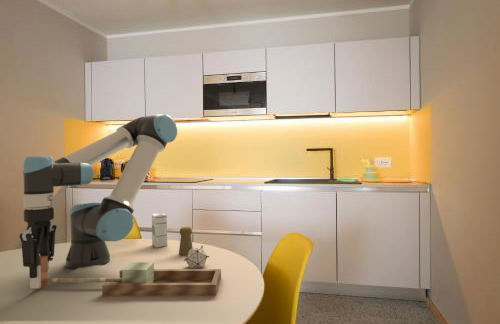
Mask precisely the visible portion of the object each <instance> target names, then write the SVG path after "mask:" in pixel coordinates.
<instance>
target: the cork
mask: <svg viewBox="0 0 500 324" xmlns="http://www.w3.org/2000/svg"><path fill="white" fill-rule="evenodd" d="M192 234H193V229H192V227H189V226H183V227H181V228H180V229H179V235H180V239H179V247H178V248H179V250H178V255H179V256H186V257H187V254H188V252H189V248H190V249H192V248H194V247H193V241H192ZM188 247H189V248H188Z"/></svg>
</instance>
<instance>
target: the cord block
mask: <svg viewBox="0 0 500 324" xmlns="http://www.w3.org/2000/svg"><path fill="white" fill-rule="evenodd" d="M39 265H41V288H30V289H31V290H42V289H44V288H45V287H47V286H48V285H49V283H117V282H122V283H153V282H154V269H155V262H153V261H149V262H147V261H146V262H145V261H144V262H143V261H142V262H141V261H139V262H138V261H136V262H135V261H133V262H132V261H131V262H130V263H129V264H127V266H126V267H124V268H122V269H123V270H122V278H120V277H62V278H61V277H49V278H48V256H40V255H39ZM48 282H49V283H48Z"/></svg>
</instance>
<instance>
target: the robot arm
mask: <svg viewBox="0 0 500 324" xmlns="http://www.w3.org/2000/svg"><path fill="white" fill-rule="evenodd" d="M177 136H178V127H177V124H176V121H175V120H174V118H173V117H171V116H170V115H168V114H164V113H162V114H161V113H159V114H158V113H157V114H155V115H148V116H147V115H146V116H145V115H144V116H140V117H138V118H135V119H133V120H131V121H129V122H127V123H125V124H123V125H122V126H119V127H118V128H116V131H115V132H112V133H111V134H108V135H106V136H104V137H102V138H101V139H98V140H96V141H94V142H92V143H89V144H88V145H85V146H84V147H81V148H79V149H77V150H75V151H73V152H71V153H69V154H67V155H64V156H62V157H61V158H59V159H56V160H54V157H52V156H39V155H38V156H26V157H24V159H23V160H24V161H23V167H22V168H23V170H22V173H23V175H22V176H23V208H24V209H23V221H24V223H27V227H26V231H25V232H23V233H20V234H19V239H20V241H21V242H20V243H21V252H22V256H21V257H22V267H24V268H25V267H26V268H29V270H28V271H29V273H28V274H29V288H30V289H31V288H41V265H39V256H48V278H50V262H51V261H53V259H54V258H53V257H54V256H55V241H56V230H57V225H56V224H52V222H51V220H52V221H53V219H55V212H54V211H55V208H54V207H53V206H54V199H55V196H54V192H55V191H54V189H55V188H57V187H73V186H85V185H89V184H91V182H93V179H94V168H93V166H94V165H96V164H98V163H100V162H101V161H104V160H105V159H107V158H109V157H111V156H112V155H114V154H117V153H119V152H120V151H122V150H124V149H131V148H133V147H134V146H135V148H134V151H133V152H132V154H131V156H130V158H129V160H128V162H127V164H126V166H125V167H124V169H123V170H122V173H121V174H120V176H119V178H118V180H117V182H116V184H115V186H114V188H113V189H112V191H111V192H110V195H108V196H105V197H103V198H102V200H101V201H95V202H86V203H78V204H73V205H72V206H71V208H70V214H69V216H70V247H69V249H68V253H67V254H66V258H65V267H66V268H67V269H72V270H76V269H77V268H81V267H82V268H83V267H84V268H86V267H92V266H103V265H106V264H108V263H109V262H110V261H111V254H110V251H109V248H108V245H107V243H106V242H119V241H122V240H123V239H125V238H126V237H128V235H129V234H130V233H131V231H132V230H133V227H134V222H135V221H134V220H133V219H134V214H133V213H134V211H135V209H134V206H133V204H134V202H135V200H136V198H137V196H138V194H139V192H140V191H141V188H142V186H143V184H144V182H145V180H146V178H147V176H148V174H149V172H150V170H151V168H152V166H153V164H154V162H155V160H156V158H157V156H158V154H159V153H160V152H163V151H164V150H165V149H166V146H167V144H168V143H171V142H174V141H175V139H177ZM49 283H50V282H48V284H49Z"/></svg>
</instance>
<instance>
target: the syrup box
mask: <svg viewBox="0 0 500 324" xmlns="http://www.w3.org/2000/svg"><path fill="white" fill-rule="evenodd" d="M151 236H152V237H151V238H152V239H151V240H152V243H151V244H152V246H153V247H155V248H162V247H161V246H163V247H167V246H168V215H167V214H165V213H163V212H157V213H152V214H151Z"/></svg>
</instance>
